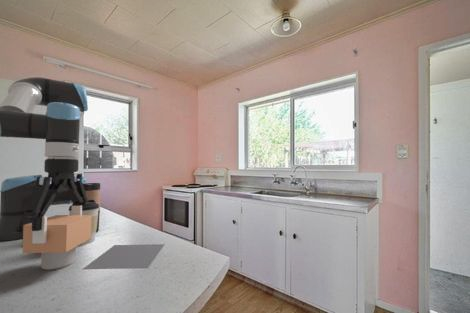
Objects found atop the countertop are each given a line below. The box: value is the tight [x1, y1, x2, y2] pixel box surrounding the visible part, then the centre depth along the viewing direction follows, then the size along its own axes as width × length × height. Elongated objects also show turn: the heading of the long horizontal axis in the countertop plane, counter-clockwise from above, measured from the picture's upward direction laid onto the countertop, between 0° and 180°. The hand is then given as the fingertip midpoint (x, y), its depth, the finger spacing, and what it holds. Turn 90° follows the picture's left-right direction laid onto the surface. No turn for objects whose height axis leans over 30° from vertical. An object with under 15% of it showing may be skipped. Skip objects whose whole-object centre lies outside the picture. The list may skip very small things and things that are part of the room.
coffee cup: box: [68, 200, 99, 248], centre depth 77 cm, size 9×9×15 cm
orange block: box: [22, 214, 92, 254], centre depth 61 cm, size 11×11×7 cm
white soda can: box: [40, 247, 77, 271], centre depth 61 cm, size 8×8×12 cm
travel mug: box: [81, 182, 101, 233], centre depth 90 cm, size 8×8×20 cm
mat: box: [82, 243, 166, 270], centre depth 66 cm, size 17×17×1 cm
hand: (59, 234), depth 61 cm, fingers open, 13 cm apart
